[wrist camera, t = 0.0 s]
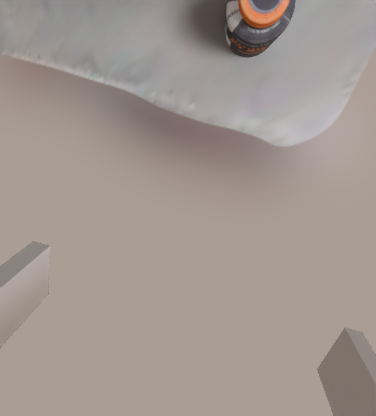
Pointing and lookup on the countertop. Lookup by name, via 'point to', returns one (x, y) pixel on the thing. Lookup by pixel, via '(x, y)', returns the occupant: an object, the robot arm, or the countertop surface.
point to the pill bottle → (256, 24)
